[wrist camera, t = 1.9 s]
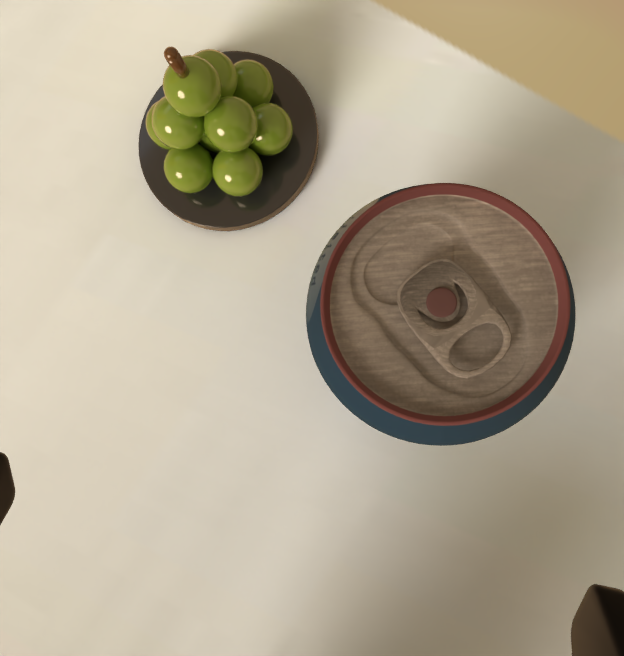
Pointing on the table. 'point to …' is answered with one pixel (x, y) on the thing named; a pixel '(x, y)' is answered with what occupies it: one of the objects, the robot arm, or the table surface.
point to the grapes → (227, 139)
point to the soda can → (440, 314)
